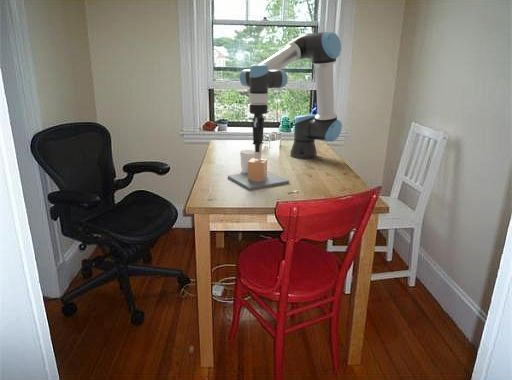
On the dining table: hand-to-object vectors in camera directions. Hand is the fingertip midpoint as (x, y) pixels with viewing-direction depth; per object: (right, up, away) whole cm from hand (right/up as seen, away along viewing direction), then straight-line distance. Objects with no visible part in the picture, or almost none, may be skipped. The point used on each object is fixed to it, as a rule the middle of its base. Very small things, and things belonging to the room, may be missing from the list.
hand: (258, 158), depth 158 cm
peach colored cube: (0, -8, +3) cm, 9 cm away
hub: (0, -10, +3) cm, 10 cm away
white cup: (-5, -5, +17) cm, 18 cm away
